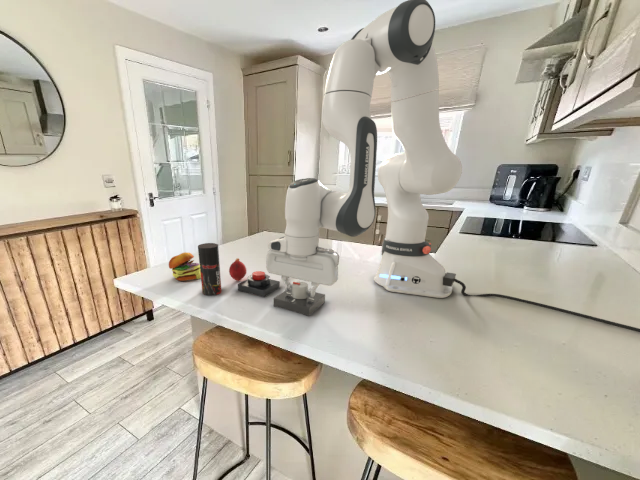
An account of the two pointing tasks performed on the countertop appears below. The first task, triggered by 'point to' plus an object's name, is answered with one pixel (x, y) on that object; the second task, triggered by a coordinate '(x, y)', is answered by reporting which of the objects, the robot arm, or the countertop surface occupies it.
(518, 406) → the countertop surface
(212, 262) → the deodorant
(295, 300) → the hob panel
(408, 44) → the robot arm
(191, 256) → the cheeseburger
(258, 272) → the button
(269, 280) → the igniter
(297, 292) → the hob knob
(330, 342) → the countertop surface
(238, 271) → the onion
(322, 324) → the countertop surface
